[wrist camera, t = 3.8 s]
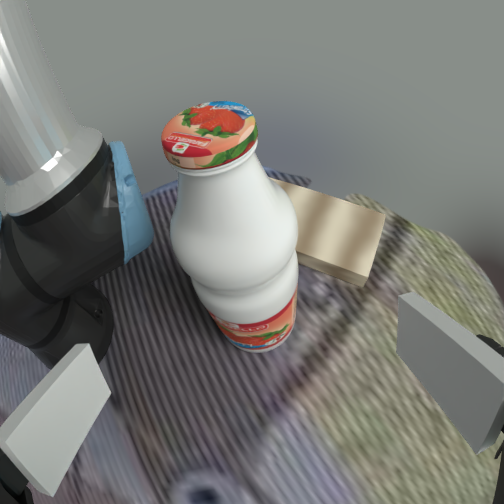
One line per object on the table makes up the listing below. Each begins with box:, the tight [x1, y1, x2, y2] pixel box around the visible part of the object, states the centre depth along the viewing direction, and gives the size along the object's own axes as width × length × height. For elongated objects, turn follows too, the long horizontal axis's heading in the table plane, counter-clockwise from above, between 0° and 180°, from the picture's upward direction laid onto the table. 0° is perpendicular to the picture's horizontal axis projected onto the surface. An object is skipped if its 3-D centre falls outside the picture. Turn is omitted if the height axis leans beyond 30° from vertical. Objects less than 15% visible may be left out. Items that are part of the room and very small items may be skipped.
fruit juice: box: [161, 101, 298, 353], centre depth 25 cm, size 9×9×28 cm
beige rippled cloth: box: [268, 177, 386, 288], centre depth 42 cm, size 20×11×3 cm, turn 63°
